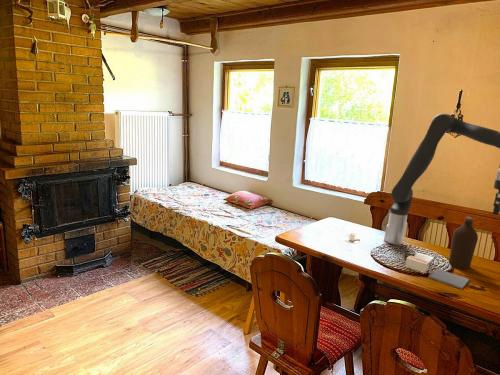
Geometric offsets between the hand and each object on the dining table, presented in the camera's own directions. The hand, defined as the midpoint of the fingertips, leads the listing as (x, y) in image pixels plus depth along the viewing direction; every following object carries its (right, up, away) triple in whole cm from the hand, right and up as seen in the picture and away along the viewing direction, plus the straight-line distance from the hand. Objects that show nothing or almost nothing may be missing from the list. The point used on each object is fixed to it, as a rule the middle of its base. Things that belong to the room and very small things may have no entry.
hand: (497, 213), depth 175 cm
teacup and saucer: (-57, -19, +32) cm, 68 cm away
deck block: (-37, -27, +2) cm, 46 cm away
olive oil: (-12, -27, +10) cm, 31 cm away
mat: (-26, -30, -6) cm, 40 cm away
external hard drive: (-29, -25, +14) cm, 41 cm away
